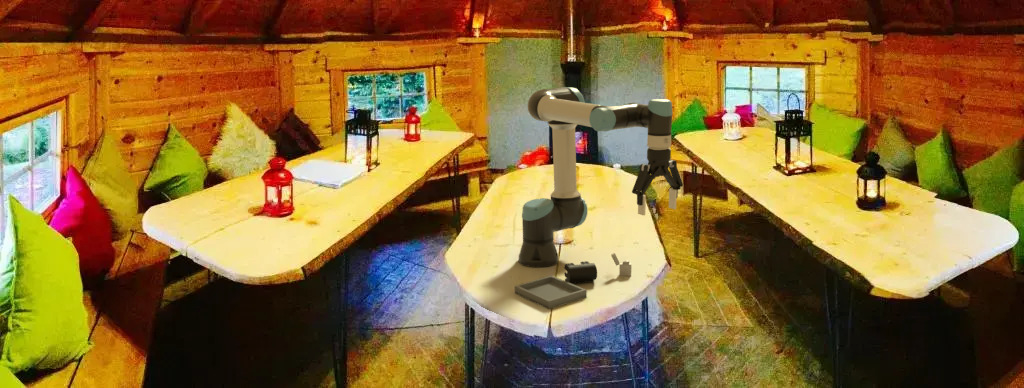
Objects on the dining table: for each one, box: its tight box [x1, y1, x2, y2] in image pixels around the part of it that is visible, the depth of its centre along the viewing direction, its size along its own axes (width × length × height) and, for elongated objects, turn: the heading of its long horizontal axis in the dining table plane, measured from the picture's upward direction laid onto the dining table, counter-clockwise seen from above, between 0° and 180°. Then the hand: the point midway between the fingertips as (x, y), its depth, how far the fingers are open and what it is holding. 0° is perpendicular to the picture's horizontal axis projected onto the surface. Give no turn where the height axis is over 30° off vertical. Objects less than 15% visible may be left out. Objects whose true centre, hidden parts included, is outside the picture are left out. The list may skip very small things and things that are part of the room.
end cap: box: [563, 260, 598, 285], centre depth 247 cm, size 10×7×7 cm
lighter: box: [610, 252, 632, 277], centre depth 253 cm, size 7×2×8 cm, turn 83°
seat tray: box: [514, 275, 588, 310], centre depth 236 cm, size 18×16×3 cm
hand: (657, 211), depth 234 cm, fingers open, 13 cm apart
